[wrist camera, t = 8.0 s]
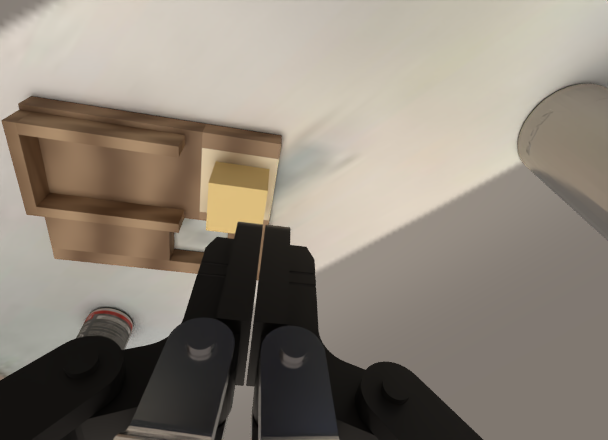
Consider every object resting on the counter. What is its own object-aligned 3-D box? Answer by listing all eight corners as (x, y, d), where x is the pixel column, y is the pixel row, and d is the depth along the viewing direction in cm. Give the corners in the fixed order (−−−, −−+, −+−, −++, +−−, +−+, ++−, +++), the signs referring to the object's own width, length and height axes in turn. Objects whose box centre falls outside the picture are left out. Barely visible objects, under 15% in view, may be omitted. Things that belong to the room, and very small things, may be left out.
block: (269, 169, 36) (267, 191, 33) (262, 212, 39) (260, 236, 36) (215, 161, 36) (208, 182, 33) (212, 206, 39) (206, 230, 35)
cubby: (185, 134, 34) (178, 146, 32) (184, 217, 39) (178, 232, 37) (19, 109, 32) (1, 120, 30) (40, 199, 37) (26, 214, 35)
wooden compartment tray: (281, 135, 37) (281, 144, 35) (260, 268, 46) (259, 280, 45) (31, 96, 34) (17, 103, 32) (63, 246, 43) (54, 258, 42)
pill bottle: (87, 303, 48) (47, 374, 40) (134, 309, 49) (104, 380, 41) (89, 332, 52) (52, 404, 43) (133, 338, 53) (106, 409, 44)
